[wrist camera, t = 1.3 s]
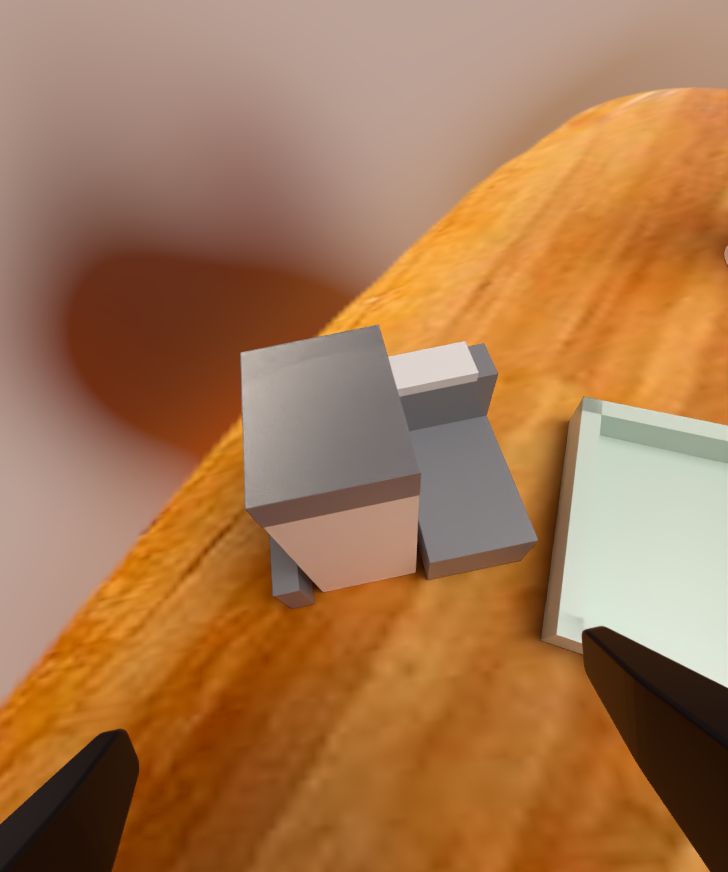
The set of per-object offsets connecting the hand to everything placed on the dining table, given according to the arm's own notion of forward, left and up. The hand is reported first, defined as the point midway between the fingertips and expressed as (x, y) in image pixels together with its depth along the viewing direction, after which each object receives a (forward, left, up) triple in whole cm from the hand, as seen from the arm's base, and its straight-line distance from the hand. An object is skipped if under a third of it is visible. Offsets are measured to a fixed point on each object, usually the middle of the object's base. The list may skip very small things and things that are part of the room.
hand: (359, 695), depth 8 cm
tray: (+9, -13, -13) cm, 21 cm away
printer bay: (+9, +2, -13) cm, 16 cm away
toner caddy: (+7, +3, -13) cm, 15 cm away
